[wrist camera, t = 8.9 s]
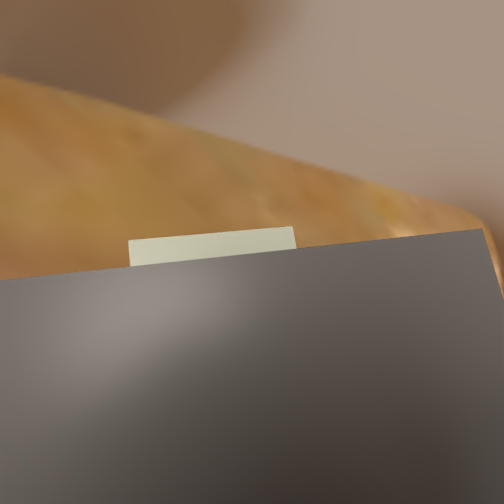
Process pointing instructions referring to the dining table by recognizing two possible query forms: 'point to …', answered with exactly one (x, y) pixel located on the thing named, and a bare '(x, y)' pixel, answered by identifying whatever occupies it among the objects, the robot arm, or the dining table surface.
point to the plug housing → (259, 379)
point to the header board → (209, 245)
